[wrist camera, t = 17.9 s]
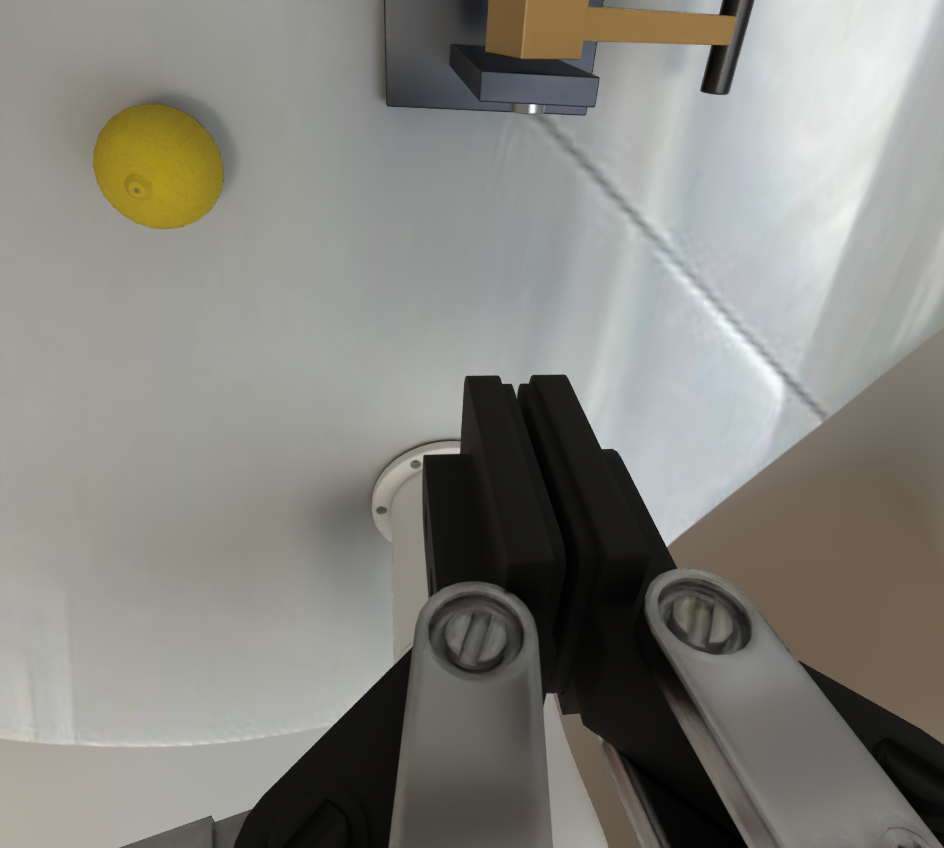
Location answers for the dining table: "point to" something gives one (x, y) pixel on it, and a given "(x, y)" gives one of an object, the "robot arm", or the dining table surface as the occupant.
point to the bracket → (475, 64)
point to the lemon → (158, 166)
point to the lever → (616, 31)
